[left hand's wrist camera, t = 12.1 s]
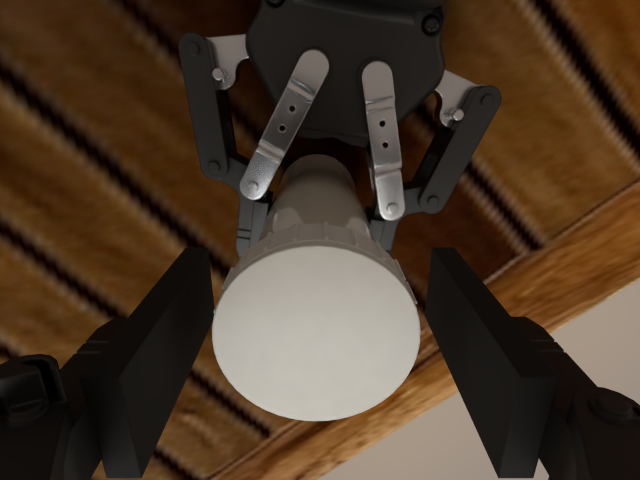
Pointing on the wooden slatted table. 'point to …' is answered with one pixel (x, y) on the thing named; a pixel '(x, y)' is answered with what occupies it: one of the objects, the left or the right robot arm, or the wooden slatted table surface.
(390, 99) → the right robot arm
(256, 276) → the lid
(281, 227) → the jar
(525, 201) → the wooden slatted table surface
